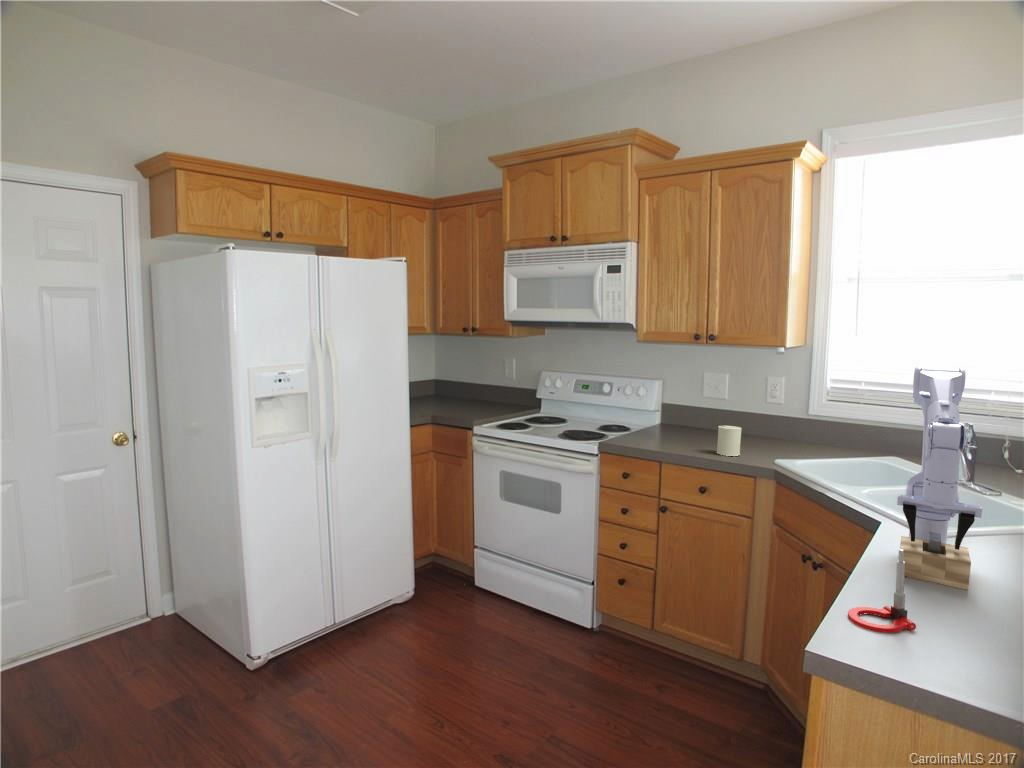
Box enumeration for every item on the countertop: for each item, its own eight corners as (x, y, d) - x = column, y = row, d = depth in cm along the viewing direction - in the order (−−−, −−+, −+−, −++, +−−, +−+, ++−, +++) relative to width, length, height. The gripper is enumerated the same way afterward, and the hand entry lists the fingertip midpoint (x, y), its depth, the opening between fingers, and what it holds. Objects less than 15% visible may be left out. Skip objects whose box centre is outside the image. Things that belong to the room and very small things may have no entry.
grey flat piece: (926, 563, 135) (929, 531, 135) (937, 565, 134) (940, 533, 134) (926, 573, 130) (929, 540, 129) (938, 575, 128) (941, 542, 128)
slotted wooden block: (899, 559, 140) (901, 535, 139) (965, 572, 133) (967, 547, 133) (897, 574, 131) (899, 549, 130) (968, 589, 124) (971, 562, 124)
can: (722, 451, 264) (724, 423, 263) (743, 455, 258) (745, 426, 257) (712, 454, 257) (714, 425, 256) (733, 458, 251) (735, 428, 250)
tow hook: (867, 636, 104) (920, 633, 105) (870, 560, 103) (923, 558, 104) (837, 614, 112) (886, 611, 113) (839, 543, 111) (889, 541, 112)
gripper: (899, 478, 131) (893, 541, 132) (985, 490, 123) (978, 557, 124) (900, 472, 137) (894, 533, 138) (982, 483, 129) (976, 547, 130)
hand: (934, 544), depth 131 cm, fingers open, 7 cm apart
